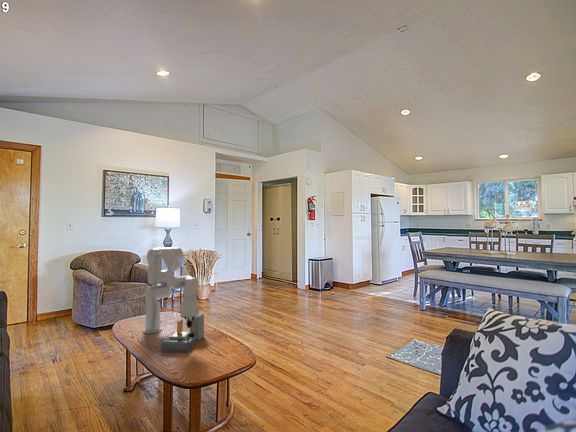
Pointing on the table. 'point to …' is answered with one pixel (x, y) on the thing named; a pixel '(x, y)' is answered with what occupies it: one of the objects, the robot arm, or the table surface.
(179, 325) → the breaker lever
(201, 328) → the skincare box
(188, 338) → the breaker box
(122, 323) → the table surface
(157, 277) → the robot arm
